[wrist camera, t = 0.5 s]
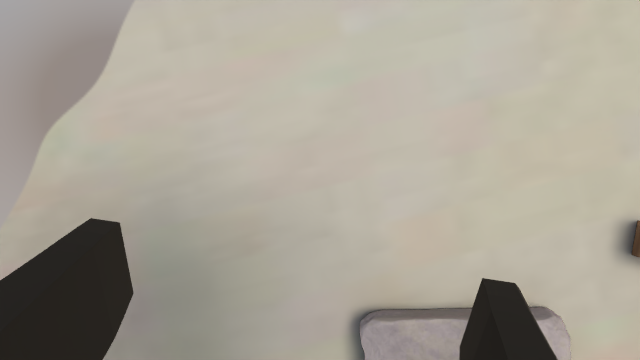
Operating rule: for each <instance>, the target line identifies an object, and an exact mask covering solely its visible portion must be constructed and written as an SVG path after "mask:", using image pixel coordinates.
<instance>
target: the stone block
mask: <svg viewBox="0 0 640 360" xmlns="http://www.w3.org/2000/svg"><path fill="white" fill-rule="evenodd" d="M529 308H530V310H531V312H532V314H533V316H534V318H535V320H536V321H537V323H538V325H539V327H540V329H541V331H542V332H543V334H544V336H545V338H546V340H547V341H548V343H549V345H550V347H551V348H552V350H553V352H554V354H555V355H556V357H557V359H558V360H571V345H570V336H569V334H568V332H567V330H566V328H565V325H564V322H563V320H562V318H561V317H560V316H558V315H557V314H555V313H554V312H553V311H552V310H550V309H548V308H545V307H529ZM471 311H472V308H461V309H425V310H379V311H375V312H371V313H369V314H368V315H367V316H366V317H365V318H363V319H362V320H361V321H360V337H361V345H362V348H363V350H364V353H365V360H459V353H460V344H461V341H462V338H463V335H464V332H465V329H466V326H467V323H468V320H469V317H470V314H471Z"/></svg>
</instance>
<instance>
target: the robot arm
mask: <svg viewBox="0 0 640 360" xmlns="http://www.w3.org/2000/svg"><path fill="white" fill-rule="evenodd" d="M132 295H133V289H132V283H131V278H130V273H129V268H128V263H127V258H126V253H125V247H124V242H123V237H122V232H121V227H120V223H118V222H112V221H105V220H99V219H92V218H91V219H89V220H88V221H86V222H85V223H83V224H82V225H80V226H79V227H77V228H76V229H74V230H73V231H71V232H70V233H68V234H67V235H66V236H64V237H63V238H61V239H60V240H58V241H57V242H56V243H54V244H53V245H51V246H50V247H48V248H47V249H46V250H44V251H43V252H41V253H40V254H38V255H37V256H36V257H34V258H33V259H31V260H30V261H28V262H27V263H25V264H24V265H22V266H21V267H20V268H18V269H17V270H15V271H14V272H12V273H11V274H9V275H8V276H6V277H5V278H3V279H2V280H0V360H103V358H104V356H105V355H106V353H107V351H108V349H109V347H110V346H111V344H112V342H113V340H114V338H115V336H116V334H117V332H118V329H119V327H120V325H121V322H122V320H123V318H124V315H125V313H126V310H127V308H128V305H129V303H130V300H131V298H132ZM459 360H558V359H557V357H556V355H555V354H554V352H553V350H552V348H551V347H550V345H549V343H548V341H547V340H546V338H545V336H544V334H543V332H542V331H541V329H540V327H539V325H538V323H537V321H536V320H535V318H534V316H533V314H532V312H531V310H530V308H529V306H528V305H527V303H526V301H525V299H524V297H523V295H522V293H521V291H520V289H519V288H518V286H517V285H516V284H515V283H510V282H504V281H497V280H491V279H484V278H482V281H481V284H480V287H479V290H478V293H477V296H476V299H475V302H474V305H473V308H472V311H471V314H470V317H469V320H468V323H467V326H466V329H465V332H464V335H463V338H462V341H461V344H460V353H459Z"/></svg>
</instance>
